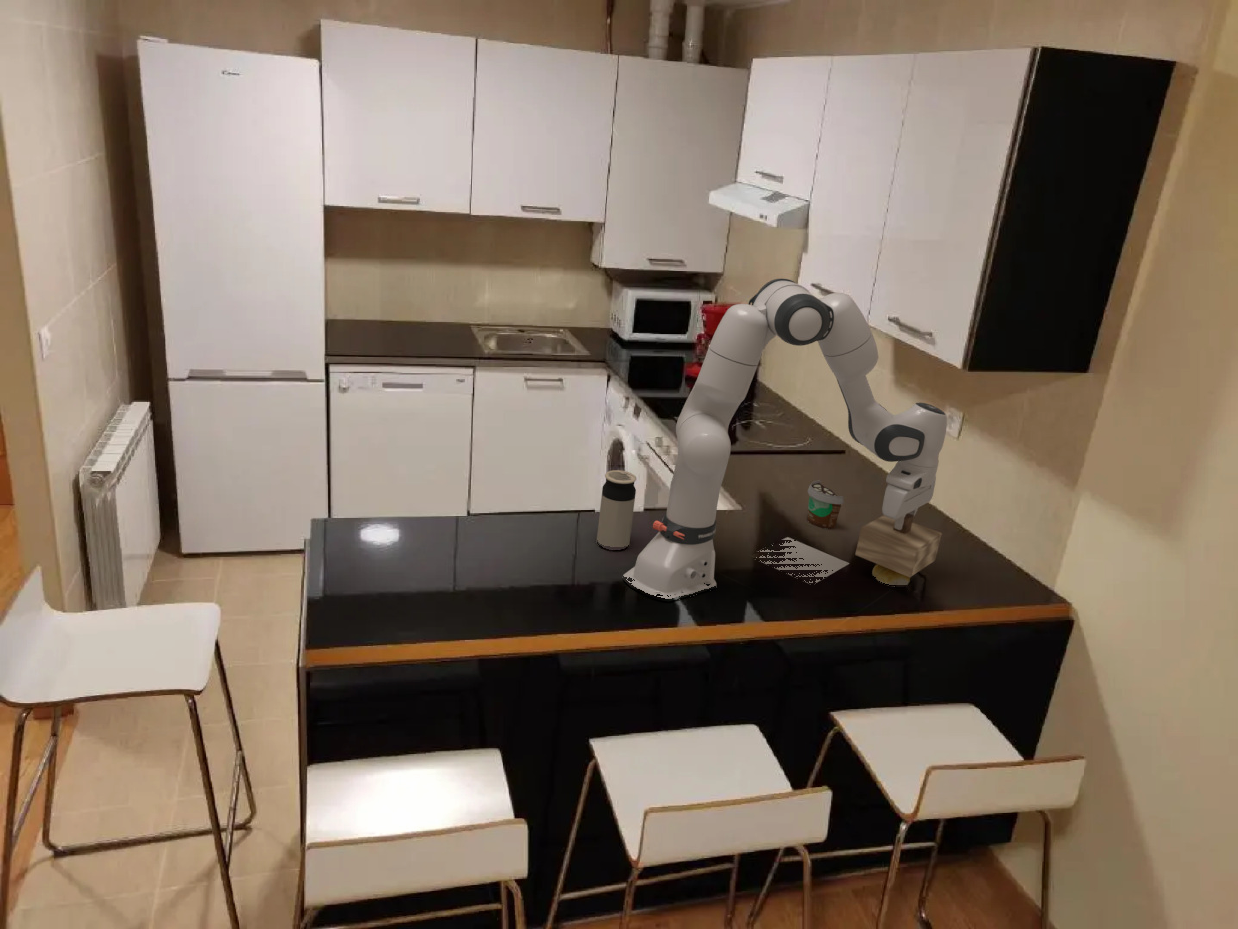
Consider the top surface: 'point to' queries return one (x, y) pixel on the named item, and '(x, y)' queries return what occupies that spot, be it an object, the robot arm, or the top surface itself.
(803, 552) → the white paper sheet
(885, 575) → the bread roll
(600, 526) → the travel mug
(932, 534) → the tan block
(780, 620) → the top surface
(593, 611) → the top surface
